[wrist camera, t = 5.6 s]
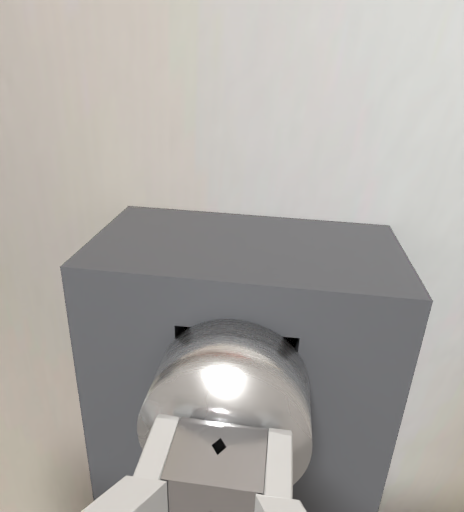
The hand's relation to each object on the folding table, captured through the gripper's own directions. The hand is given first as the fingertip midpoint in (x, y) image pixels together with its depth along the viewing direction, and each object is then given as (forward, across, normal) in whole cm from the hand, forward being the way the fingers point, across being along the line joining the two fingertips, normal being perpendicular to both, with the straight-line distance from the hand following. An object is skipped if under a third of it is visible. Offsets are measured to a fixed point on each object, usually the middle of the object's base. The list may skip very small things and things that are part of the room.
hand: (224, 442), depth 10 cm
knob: (+5, 0, 0) cm, 5 cm away
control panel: (+7, 0, -6) cm, 9 cm away
